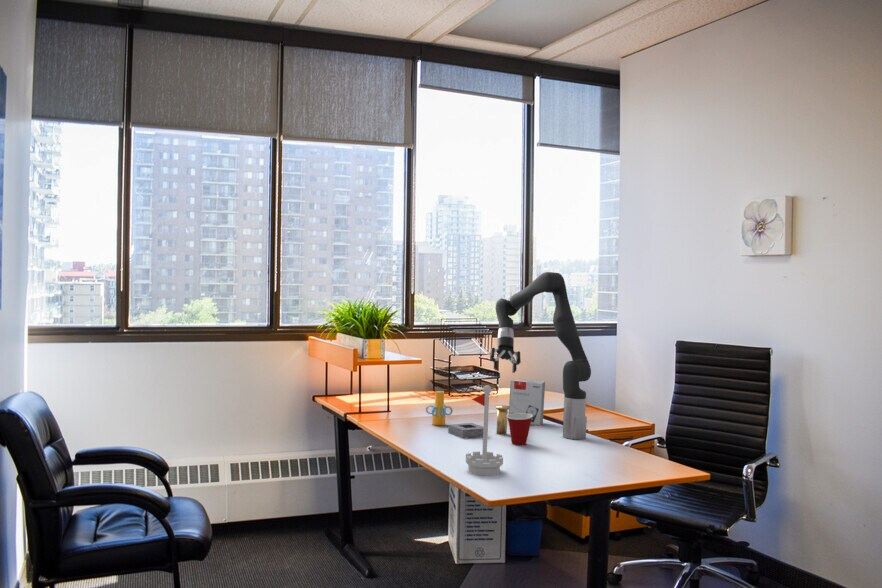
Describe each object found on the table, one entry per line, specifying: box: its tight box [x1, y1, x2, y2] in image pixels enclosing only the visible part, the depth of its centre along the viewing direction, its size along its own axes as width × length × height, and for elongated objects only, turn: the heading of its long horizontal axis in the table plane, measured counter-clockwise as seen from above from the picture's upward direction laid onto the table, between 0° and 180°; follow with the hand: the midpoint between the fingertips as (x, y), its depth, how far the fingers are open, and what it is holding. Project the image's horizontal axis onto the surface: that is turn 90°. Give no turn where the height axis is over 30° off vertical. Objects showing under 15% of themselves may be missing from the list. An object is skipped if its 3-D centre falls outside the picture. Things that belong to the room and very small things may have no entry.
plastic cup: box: [506, 413, 533, 446], centre depth 301 cm, size 11×11×12 cm
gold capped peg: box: [495, 404, 509, 436], centre depth 320 cm, size 6×6×12 cm
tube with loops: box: [425, 390, 453, 426], centre depth 335 cm, size 12×10×15 cm
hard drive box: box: [508, 378, 546, 426], centre depth 348 cm, size 16×8×20 cm, turn 71°
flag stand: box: [465, 384, 504, 476], centre depth 256 cm, size 13×13×30 cm
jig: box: [447, 422, 484, 439], centre depth 316 cm, size 12×12×4 cm
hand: (505, 371), depth 341 cm, fingers open, 8 cm apart
